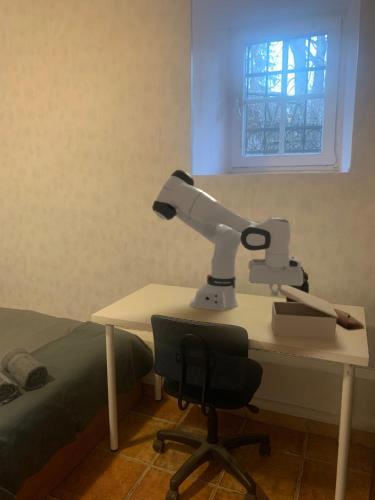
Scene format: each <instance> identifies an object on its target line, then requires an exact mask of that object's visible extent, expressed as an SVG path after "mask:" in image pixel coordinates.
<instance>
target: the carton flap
mask: <svg viewBox="0 0 375 500" xmlns="http://www.w3.org/2000/svg"><path fill="white" fill-rule="evenodd" d="M278 292H279V294H280V295H281V296H283V297H285V298H286V297H288V298H291V299H293V300H295V301H298V302H300V303H303V304H305V305H308V306H310V307H312V308H315V309H317V310H320V311H322V312H324V313H327V314H329V315H332V316H334V317H337V318H338V316H337V314H336V312H335V311H334V309H335V308H334V307H333V306H332V305H331V303H330V301H327V300H325V299H323V298H320V297H317V296H315V295H313V294H310V293H309V294H308V293H306V292H303V291H301V290H298V289H296V288H294V287H291V286H289V285H281V289H280V290H279V291H278ZM333 308H334V309H333Z"/></svg>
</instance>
